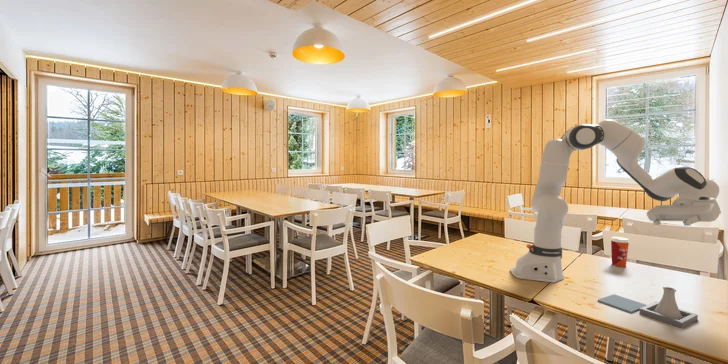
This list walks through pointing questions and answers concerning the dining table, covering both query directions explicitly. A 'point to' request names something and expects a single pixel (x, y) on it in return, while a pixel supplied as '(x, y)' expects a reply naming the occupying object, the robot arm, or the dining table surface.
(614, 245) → the paper cup
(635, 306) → the mat
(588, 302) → the dining table surface
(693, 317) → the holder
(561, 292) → the dining table surface
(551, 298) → the dining table surface
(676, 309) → the flask
